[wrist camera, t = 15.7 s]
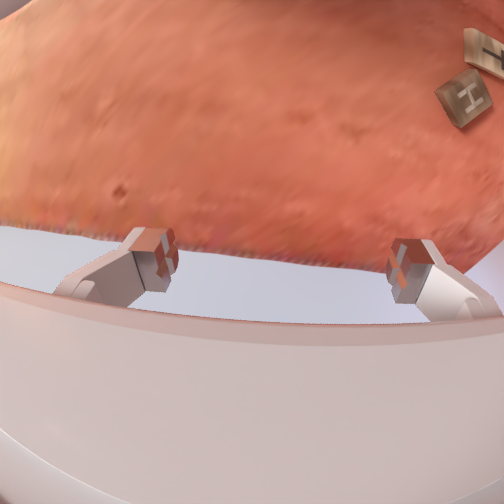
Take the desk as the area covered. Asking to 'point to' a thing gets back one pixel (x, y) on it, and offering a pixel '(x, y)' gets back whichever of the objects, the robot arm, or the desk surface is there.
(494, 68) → the wooden letter t block
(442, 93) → the wooden letter h block
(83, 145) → the desk surface
